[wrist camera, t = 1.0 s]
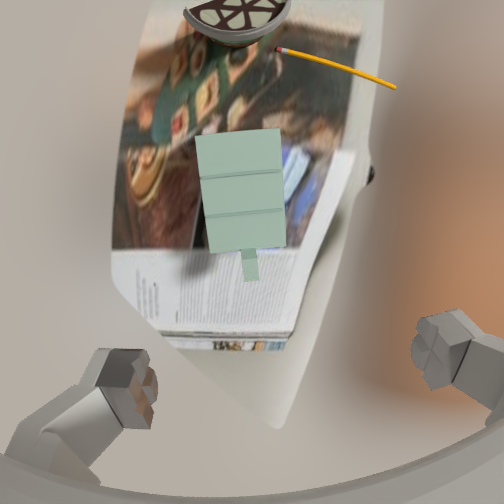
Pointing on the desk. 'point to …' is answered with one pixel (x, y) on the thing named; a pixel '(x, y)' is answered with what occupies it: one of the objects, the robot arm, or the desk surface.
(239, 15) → the food container
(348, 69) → the pencil
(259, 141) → the lid
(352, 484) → the robot arm
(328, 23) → the desk surface
